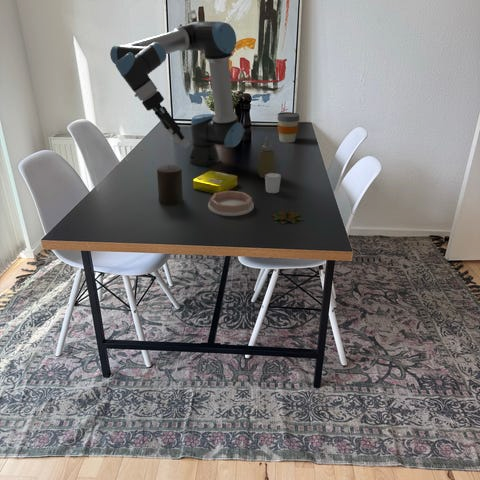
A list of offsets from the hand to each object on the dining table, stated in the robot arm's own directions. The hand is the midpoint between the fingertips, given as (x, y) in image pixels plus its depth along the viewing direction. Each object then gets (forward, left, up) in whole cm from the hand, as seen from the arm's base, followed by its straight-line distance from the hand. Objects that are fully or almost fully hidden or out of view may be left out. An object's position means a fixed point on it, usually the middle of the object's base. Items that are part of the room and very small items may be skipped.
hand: (183, 144), depth 174 cm
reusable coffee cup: (-101, +27, -24) cm, 107 cm away
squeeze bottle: (-37, +26, -24) cm, 51 cm away
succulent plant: (+6, +42, -24) cm, 49 cm away
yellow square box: (-19, +7, -24) cm, 31 cm away
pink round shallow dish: (+1, +19, -23) cm, 30 cm away
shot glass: (-20, +32, -24) cm, 44 cm away
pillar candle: (+1, -6, -24) cm, 24 cm away
